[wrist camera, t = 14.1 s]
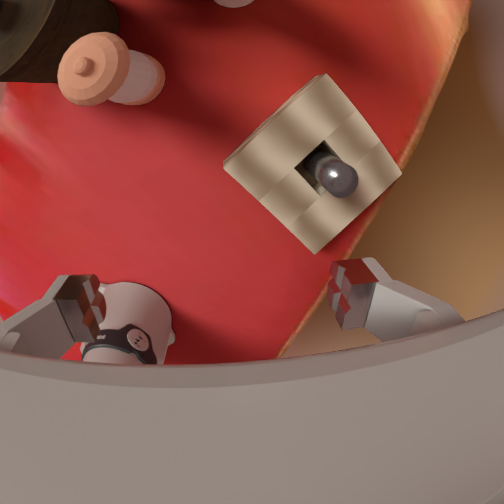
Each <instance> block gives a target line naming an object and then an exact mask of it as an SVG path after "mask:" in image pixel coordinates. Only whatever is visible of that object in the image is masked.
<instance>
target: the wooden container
mask: <svg viewBox="0 0 504 504" xmlns="http://www.w3.org/2000/svg"><path fill="white" fill-rule="evenodd" d="M118 28H119V18H118V14H117V11H116V8H115V7H114V5H113V4H112V3H111V2H110V1H109V0H0V82H30V83H58V77H57V75H58V69H59V64H60V62H61V60H62V58H63V55H64V54H65V52H66V51H67V50H68V48H69V47H70V46H71V45H72V44H73V43H74V42H76V41H77V40H78V39H80V38H81V37H83V36H86V35H88V34H90V33H97V32H108V33H112V34H116V35H117V33H118Z"/></svg>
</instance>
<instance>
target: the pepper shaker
mask: <svg viewBox="0 0 504 504" xmlns="http://www.w3.org/2000/svg"><path fill="white" fill-rule="evenodd" d="M57 77H58V85H59V88H60V90H61V92H62V94H63V95H64V96H65V97H66V98H67V99H68V100H69V101H70V102H72V103H74V104H77V105H80V106H94V105H97V104H100V103H103V102H105V101H106V100H107V99H108V100H111V101H113V102H116V103H122V104H124V105H142V104H145V103H148V102H150V101H152V100H153V99H155V98H156V97H157V96H158V95H159V94H160V92H161V90H162V88H163V86H164V83H165V71H164V69H163V67H162V65H161V63H159V62H158V61H157V60H156V59H154V58H153V57H152V56H150V55H147V54H144V53H140V52H137V51H134V50H129V49H128V48H127V46H126V44H125V42H124V41H123V40H122V39H121V38H120V37H118V36H117V35H116V34H112V33H108V32H97V33H90V34H88V35H86V36H83V37H81V38H80V39H78V40H77V41H76V42H74V43H73V44H72V45H71V46H70V47H69V48H68V50H67V51H66V52H65V54H64V55H63V58H62V60H61V62H60V64H59V69H58V75H57Z"/></svg>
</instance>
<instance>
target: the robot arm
mask: <svg viewBox="0 0 504 504" xmlns="http://www.w3.org/2000/svg"><path fill="white" fill-rule="evenodd" d="M330 273H331V275H332V277H333V278H332V279H331V280H330V281H329V283H328V289H327V295H328V301H329V305H330V307H331V309H333V310H334V311H336V319H337V321H338V323H339V325H340V327H341V329H342V330H344V329H352V328H360V327H364V328H365V329H366V330H368V331H369V332H370V333H372V334H373V335H375V336H376V337H377V338H378V339H380V340H381V341H383V343H378V344H372V345H368V346H362V347H356V348H351V349H345V350H339V351H333V352H327V353H319V354H312V355H305V356H297V357H288V358H279V359H269V360H258V361H246V362H231V363H213V364H179V365H162V364H163V363H164V359H165V355H166V351H167V347H168V346H169V345H171V344H172V343H174V341H175V338H176V337H175V334H174V331H173V330H172V327H171V321H172V318H171V312H170V309H169V307H168V305H167V304H166V302H165V301H164V300H163V299H162V298H161V297H160V296H159V295H158V294H157V293H156V292H154V291H153V290H151V289H149V288H147V287H145V286H143V285H140V284H137V283H131V282H120V283H115V284H103V283H99V280H98V277H97V276H96V275H95V274H83V275H60V276H58V277H57V278H56V280H55V281H54V283H53V284H52V285H51V287H50V288H49V289H48V291H47V292H46V294H45V295H44V296H43V298H42V299H41V300H37V301H35V302H34V303H32V304H30V305H29V306H27V307H26V308H24V309H22V310H21V311H19V312H18V313H16V314H14V315H13V316H11V317H10V318H8V319H7V320H5V321H4V322H2V323H0V504H504V309H502V310H499V311H496V312H493V313H491V314H487V315H485V316H481V317H479V318H475V319H472V320H469V321H465V320H464V319H463V318H462V317H461V316H460V315H459V313H458V312H457V311H456V310H455V309H454V308H453V306H452V305H450V304H449V303H446V302H444V301H442V300H440V299H438V298H436V297H433V296H431V295H429V294H427V293H424V292H422V291H420V290H418V289H416V288H414V287H411V286H409V285H407V284H405V283H402V282H400V281H398V280H392V278H391V277H390V276H389V275H388V274H387V273H386V271H385V270H384V269H383V268H382V267H381V266H380V264H379V263H378V262H377V261H376V260H375V259H374V258H372V257H368V258H360V259H349V260H339V261H332V264H331V267H330ZM75 342H82V345H81V348H80V350H81V353H82V361H74V360H64V359H59V358H61V357H62V356H63V355H64V354H65V353H66V352H67V351H68V350H69V349H70V348H71V347H72V346H73V345H74V344H75Z"/></svg>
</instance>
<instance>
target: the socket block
mask: <svg viewBox="0 0 504 504" xmlns="http://www.w3.org/2000/svg"><path fill="white" fill-rule="evenodd" d="M314 149H321V150H323V151H325V152H327V153H329V154H331V155H332V156H334V157H336V158H338V159H339V160H341V161H343V162H345V163H346V164H348V165H350V166H351V167H353V168H354V169H355V170H356V172H357V174H358V178H359V182H358V186H357V188H356V190H355V191H354V193H353V194H351V195H350V196H348V197H345V198H337V197H334V196H333V195H331V194H330V193H329V192H328V191H327V190H326V189H325V188H324V187H323V186H322V185H321V184H320V183H319V182H318V181H317V180H315V179H314V178H313V177H312V176H311V175H310V174H309V173H308V172H307V171H306V170H305V167H304V158H305V157H306V156H307V155H308V154H309V153H310V152H311V151H313V150H314ZM223 167H224V170H225V171H227V172H228V173H229V174H230V175H231V176H232V177H233V178H234V179H235V180H236V181H238V182H239V183H240V184H241V185H242V186H243V187H244V188H245V189H246V190H247V191H248V192H249V193H251V194H252V195H253V196H254V197H255V198H256V199H257V200H258V201H259V202H260V203H261V204H262V205H263V206H264V207H266V208H267V209H268V210H269V211H270V212H271V213H272V214H273V215H274V216H275V217H276V218H277V219H278V220H279V221H280V222H281V223H282V224H283V225H284V226H286V227H287V228H288V229H289V230H290V231H291V232H292V233H293V234H294V235H295V236H296V237H297V238H298V239H299V240H300V241H301V242H302V243H303V244H304V245H305V246H306V247H307V248H308V249H309V250H310V251H311V252H312V253H313V254H314V255H315V254H316V253H317V252H318V251H319V250H320V249H322V248H323V247H324V246H325V245H326V244H327V243H328V242H329V241H331V240H332V239H333V238H334V237H335V236H336V235H337V234H338V233H339V232H341V231H342V230H343V229H344V228H345V227H346V226H347V225H348V224H349V223H350V222H351V221H353V220H354V219H355V218H356V217H357V216H358V215H359V214H360V213H361V212H362V211H363V210H364V209H366V208H367V207H368V206H369V205H370V204H371V203H372V202H373V201H374V200H375V199H376V198H377V197H378V196H379V195H380V194H381V193H383V192H384V191H385V190H386V189H387V188H388V187H389V186H390V185H391V184H392V183H393V182H394V181H395V180H396V179H397V178H398V177H399V176H400V175H401V174H402V173H401V171H400V169H399V168H398V166H397V165H396V163H395V162H394V160H393V159H392V157H391V156H390V154H389V153H388V151H387V150H386V148H385V147H384V145H383V144H382V143H381V141H380V140H379V138H378V137H377V135H376V134H375V133H374V131H373V130H372V129H371V127H370V126H369V125H368V123H367V122H366V121H365V119H364V118H363V117H362V115H361V114H360V113H359V111H358V110H357V109H356V108H355V106H354V105H353V104H352V103H351V101H350V100H349V99H348V98H347V97H346V95H345V94H344V93H343V92H342V91H341V89H340V88H339V87H338V86H337V85H336V84H335V82H334V81H333V80H332V79H331V78H330V77H329V76H328V74H327V73H326V74H322V75H319V76H315V77H313V78H312V79H311V80H310V81H309V82H308V83H306V84H305V85H304V86H303V87H302V88H301V89H299V90H298V91H297V92H296V93H295V94H294V95H293V96H292V97H290V98H289V99H288V100H287V101H286V102H285V103H284V104H283V105H281V106H280V107H279V108H278V109H277V110H276V111H275V112H274V113H273V114H272V115H271V116H270V117H268V118H267V119H266V120H265V121H264V122H263V123H262V124H261V125H260V126H259V127H258V128H257V129H256V130H255V131H254V132H253V133H252V134H251V135H249V136H248V137H247V138H246V139H245V140H244V141H243V142H242V143H241V144H240V145H239V146H238V147H237V148H236V149H235V150H234V151H233V152H232V153H231V154H230V155H229V156H228V157H227V158H226V159H225V160H224V161H223Z"/></svg>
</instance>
